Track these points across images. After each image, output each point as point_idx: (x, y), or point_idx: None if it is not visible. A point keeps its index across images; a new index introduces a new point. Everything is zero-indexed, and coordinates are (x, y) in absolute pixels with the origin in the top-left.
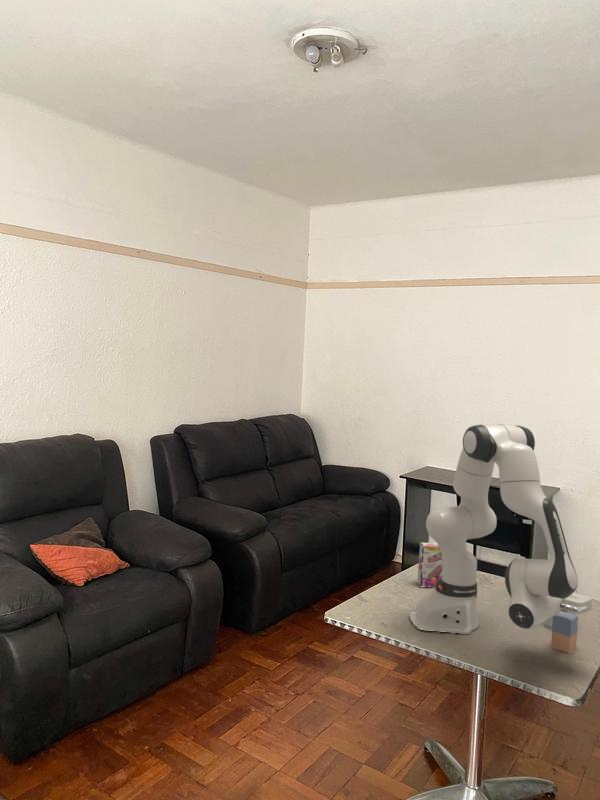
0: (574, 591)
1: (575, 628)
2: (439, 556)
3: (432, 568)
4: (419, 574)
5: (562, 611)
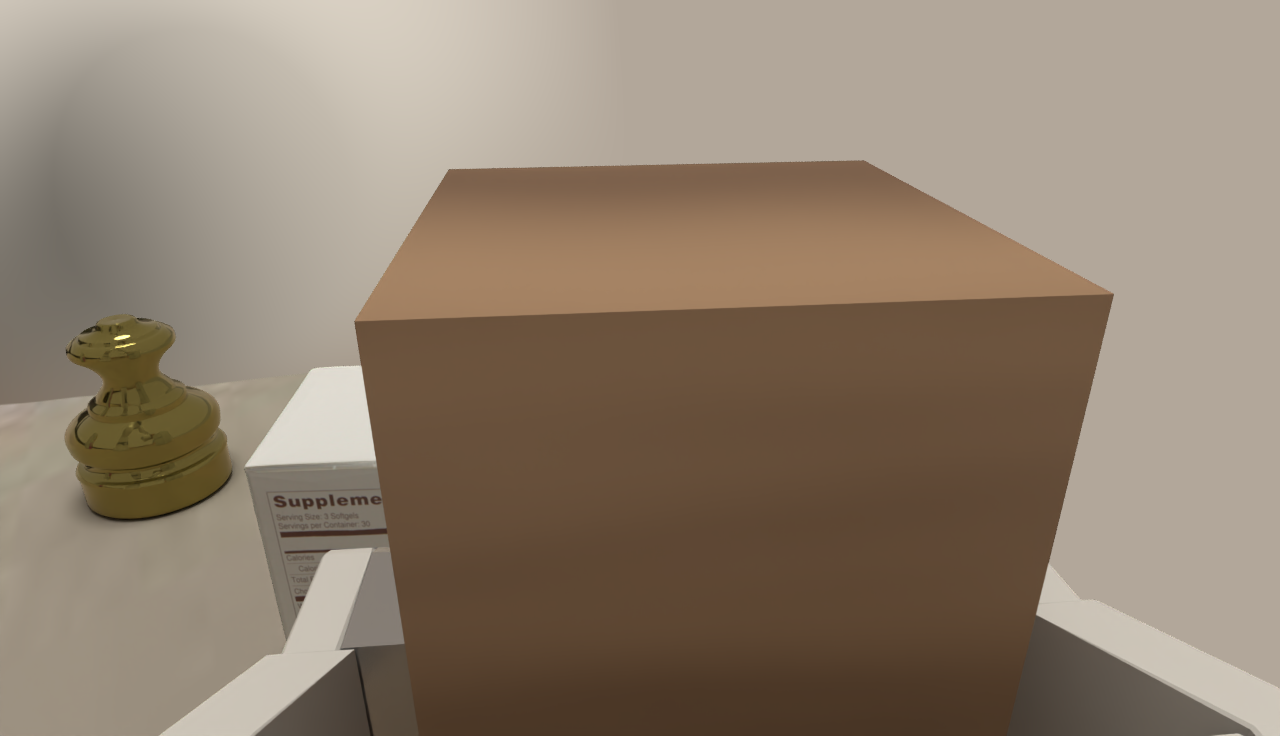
0: (1089, 601)
1: None
2: None
3: None
4: None
5: None
